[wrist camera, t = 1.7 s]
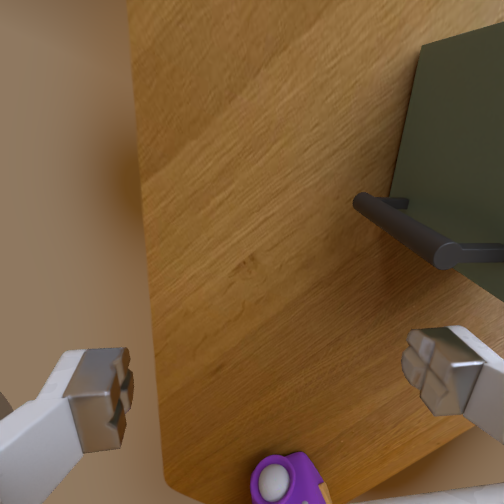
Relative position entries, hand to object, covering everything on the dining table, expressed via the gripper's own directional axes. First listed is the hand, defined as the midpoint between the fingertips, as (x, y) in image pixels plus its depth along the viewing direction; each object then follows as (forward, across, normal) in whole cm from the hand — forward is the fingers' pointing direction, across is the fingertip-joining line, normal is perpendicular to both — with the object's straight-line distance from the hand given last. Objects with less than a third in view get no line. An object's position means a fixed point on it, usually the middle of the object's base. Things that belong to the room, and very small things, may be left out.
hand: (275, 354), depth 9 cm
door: (+23, -14, -4) cm, 27 cm away
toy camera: (+24, -8, +43) cm, 50 cm away
